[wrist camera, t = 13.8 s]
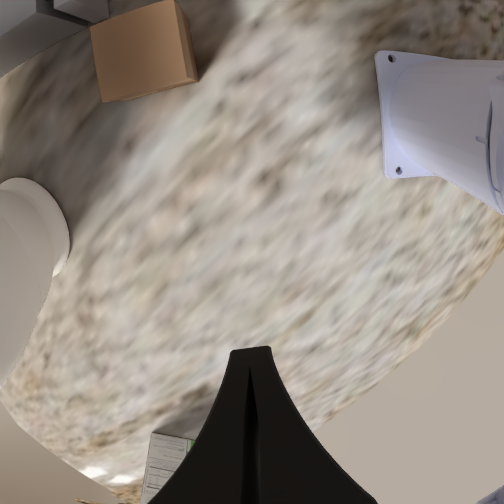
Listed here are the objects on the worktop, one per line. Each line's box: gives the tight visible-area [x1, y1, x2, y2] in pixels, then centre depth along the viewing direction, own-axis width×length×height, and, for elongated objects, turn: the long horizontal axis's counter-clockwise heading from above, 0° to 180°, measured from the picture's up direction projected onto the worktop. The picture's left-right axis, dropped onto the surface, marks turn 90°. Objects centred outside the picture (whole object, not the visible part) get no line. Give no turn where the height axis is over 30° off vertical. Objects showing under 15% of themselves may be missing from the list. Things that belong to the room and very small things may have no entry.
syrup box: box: [140, 433, 195, 504], centre depth 27 cm, size 6×6×14 cm
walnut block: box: [90, 0, 199, 103], centre depth 12 cm, size 4×4×4 cm
